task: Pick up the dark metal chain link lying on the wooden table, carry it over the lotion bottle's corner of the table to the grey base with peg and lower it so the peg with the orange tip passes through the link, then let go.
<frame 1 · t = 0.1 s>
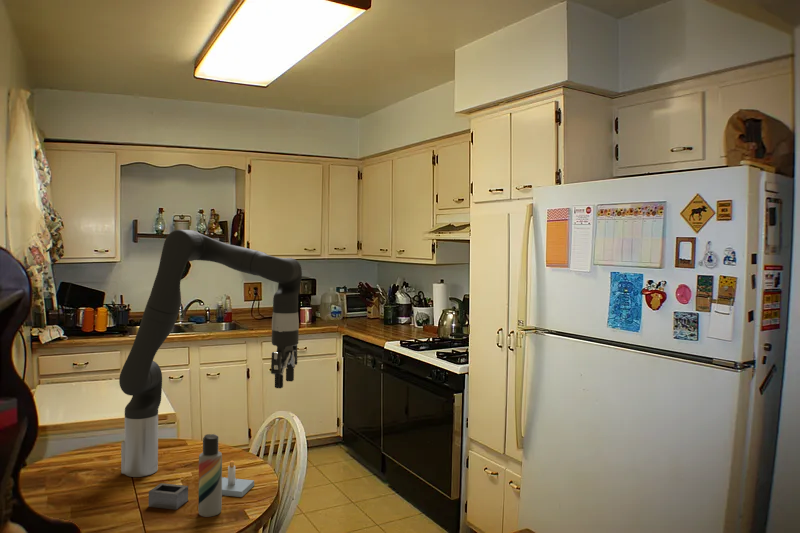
hand: (284, 384, 169), 29 cm above the table, tool pointing down, fingers open, 8 cm apart
lotion bottle: (210, 513, 152), on the table
link: (168, 503, 157), on the table
grey base with peg: (231, 489, 166), on the table
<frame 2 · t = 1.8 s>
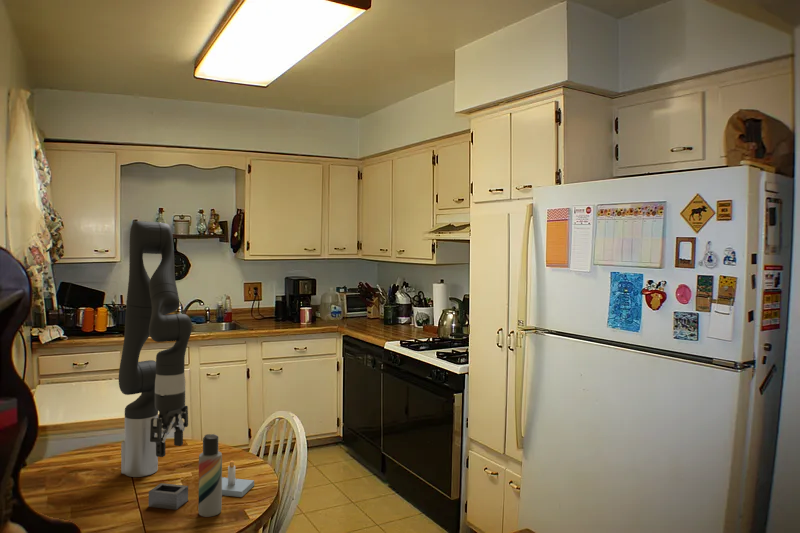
hand: (169, 450, 156), 14 cm above the table, tool pointing down, fingers open, 8 cm apart
nothing on the table moved.
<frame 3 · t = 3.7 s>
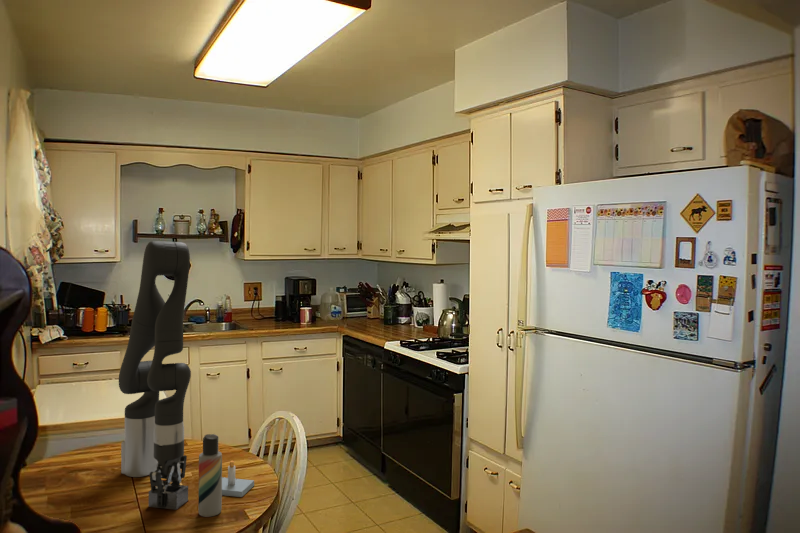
hand: (168, 501, 157), 1 cm above the table, tool pointing down, fingers closed on link, 5 cm apart
link: (168, 503, 157), on the table, touching gripper
everything else where it was.
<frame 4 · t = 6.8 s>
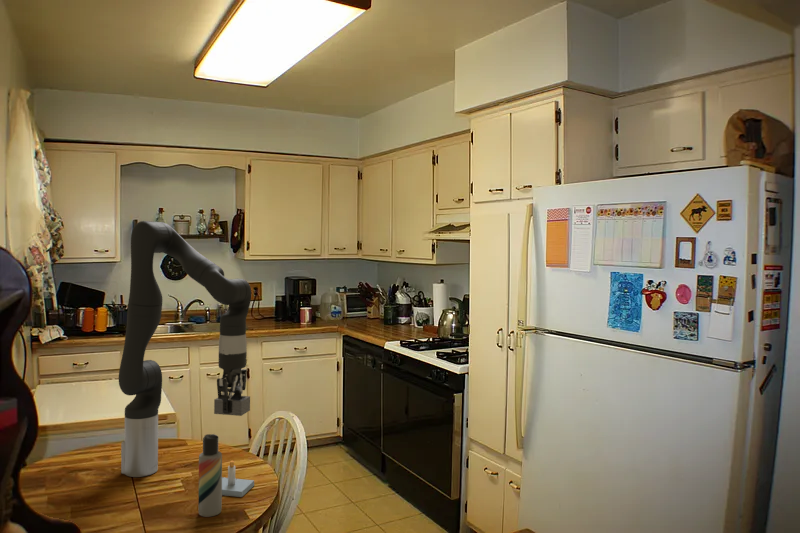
hand: (232, 410, 165), 23 cm above the table, tool pointing down, fingers closed on link, 5 cm apart
link: (232, 412, 165), point 22 cm above the table, touching gripper
everything else where it was.
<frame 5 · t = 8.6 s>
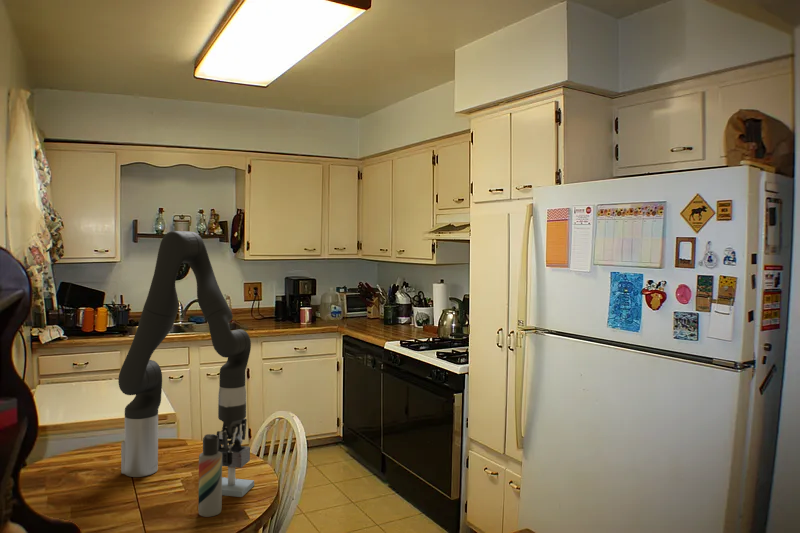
hand: (231, 461, 166), 8 cm above the table, tool pointing down, fingers closed on link, 5 cm apart
link: (232, 463, 166), point 8 cm above the table, touching gripper
everything else where it was.
when the fingers open (3 cm above the table, at t = 10.0 s): link drops 1 cm, resting on grey base with peg.
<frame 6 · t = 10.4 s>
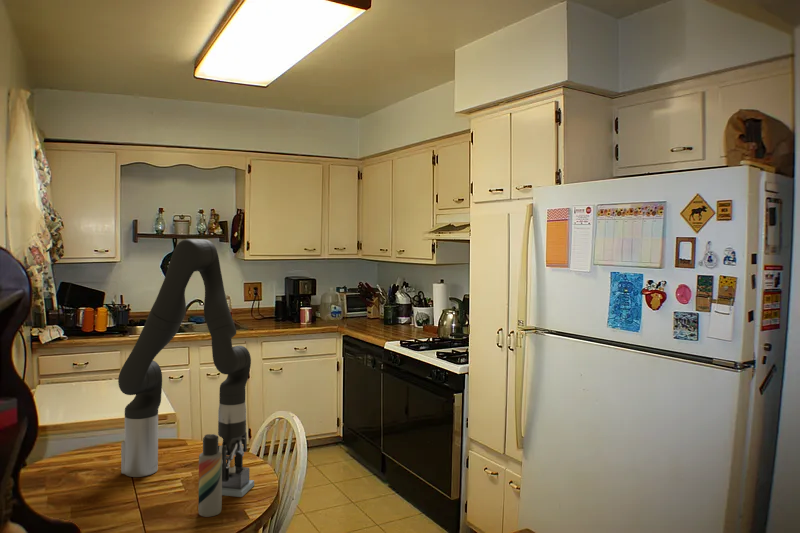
hand: (231, 475, 166), 4 cm above the table, tool pointing down, fingers open, 8 cm apart
link: (231, 484, 166), point 1 cm above the table, touching grey base with peg
everything else where it was.
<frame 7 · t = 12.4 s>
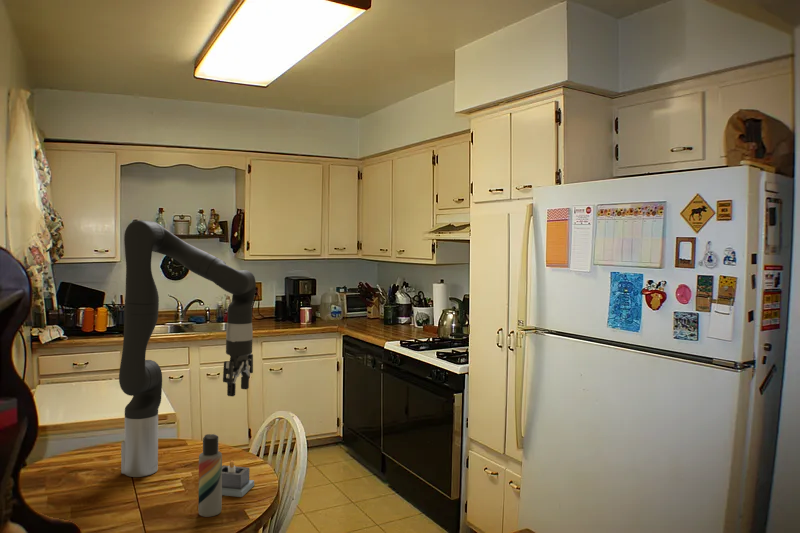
hand: (238, 392, 175), 25 cm above the table, tool pointing down, fingers open, 8 cm apart
nothing on the table moved.
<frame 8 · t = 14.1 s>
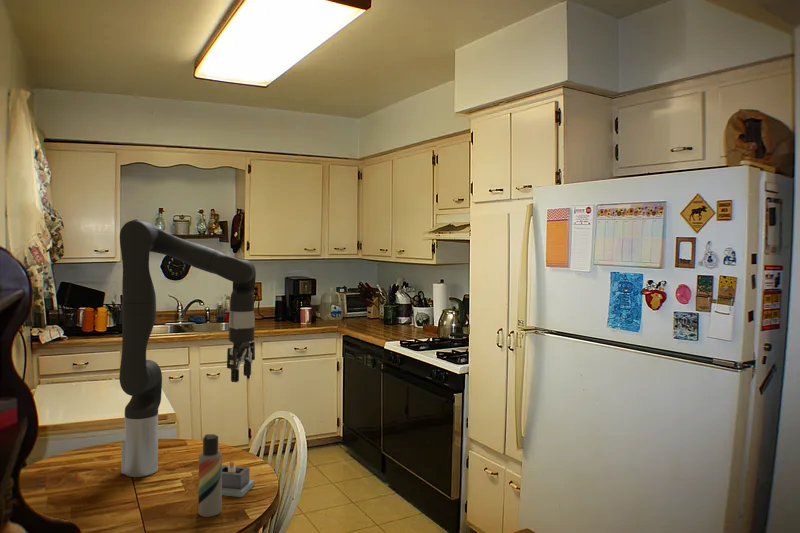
hand: (241, 378, 180), 28 cm above the table, tool pointing down, fingers open, 8 cm apart
nothing on the table moved.
at the end: link 0.1 cm off-centre on the grey base with peg, point 1.5 cm above the grey base with peg's base; the gripper is holding nothing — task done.
